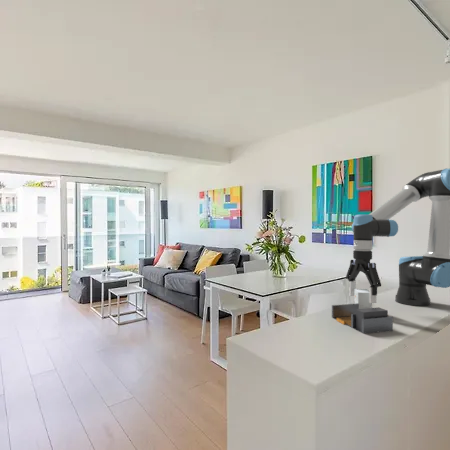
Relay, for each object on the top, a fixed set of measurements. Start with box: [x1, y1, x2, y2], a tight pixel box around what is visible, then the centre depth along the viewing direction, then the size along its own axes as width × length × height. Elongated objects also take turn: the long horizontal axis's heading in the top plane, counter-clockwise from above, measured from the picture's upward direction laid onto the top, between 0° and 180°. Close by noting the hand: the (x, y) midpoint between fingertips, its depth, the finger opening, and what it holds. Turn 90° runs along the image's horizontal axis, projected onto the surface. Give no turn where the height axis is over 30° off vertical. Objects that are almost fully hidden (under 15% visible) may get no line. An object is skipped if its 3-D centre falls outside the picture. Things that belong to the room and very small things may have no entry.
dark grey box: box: [356, 307, 389, 331], centre depth 116 cm, size 10×4×7 cm, turn 103°
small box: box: [353, 288, 373, 309], centre depth 137 cm, size 8×6×10 cm
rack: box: [331, 303, 394, 334], centre depth 122 cm, size 13×20×6 cm, turn 13°
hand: (362, 299), depth 137 cm, fingers open, 13 cm apart
